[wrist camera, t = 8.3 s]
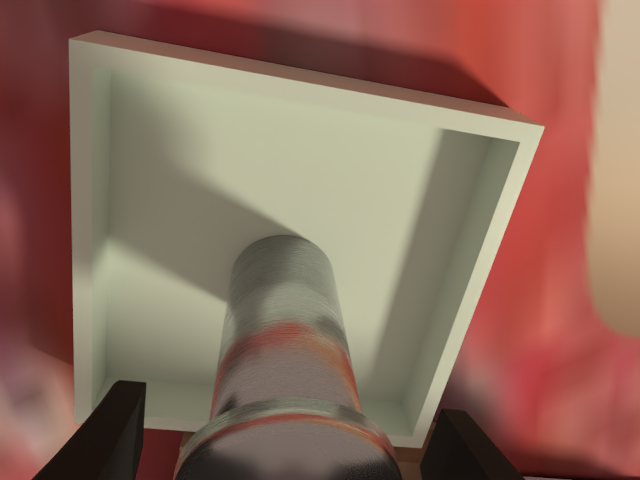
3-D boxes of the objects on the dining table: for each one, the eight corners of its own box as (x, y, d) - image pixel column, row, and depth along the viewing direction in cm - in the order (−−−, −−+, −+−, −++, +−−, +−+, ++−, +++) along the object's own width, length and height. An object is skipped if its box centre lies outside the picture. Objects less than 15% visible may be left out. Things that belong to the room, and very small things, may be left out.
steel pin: (362, 230, 19) (436, 444, 11) (334, 341, 22) (377, 595, 13) (222, 210, 19) (173, 423, 10) (208, 328, 21) (159, 589, 12)
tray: (510, 108, 18) (544, 126, 16) (407, 403, 24) (421, 448, 22) (97, 29, 16) (68, 38, 14) (95, 376, 22) (74, 422, 20)
